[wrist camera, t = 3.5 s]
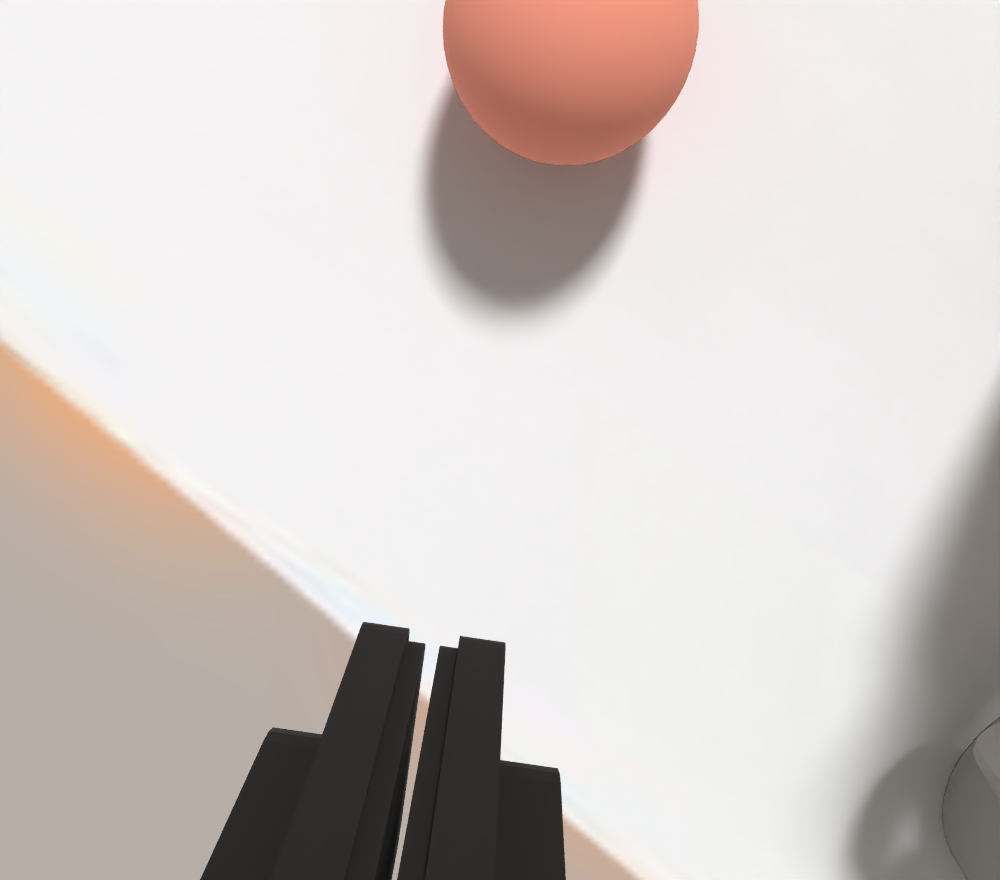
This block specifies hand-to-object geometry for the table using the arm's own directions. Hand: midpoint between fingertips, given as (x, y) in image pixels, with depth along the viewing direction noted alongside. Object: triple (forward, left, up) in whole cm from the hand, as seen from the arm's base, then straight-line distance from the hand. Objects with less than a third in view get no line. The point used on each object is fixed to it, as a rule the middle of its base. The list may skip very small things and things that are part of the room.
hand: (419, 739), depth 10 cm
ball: (+10, 0, -14) cm, 17 cm away
